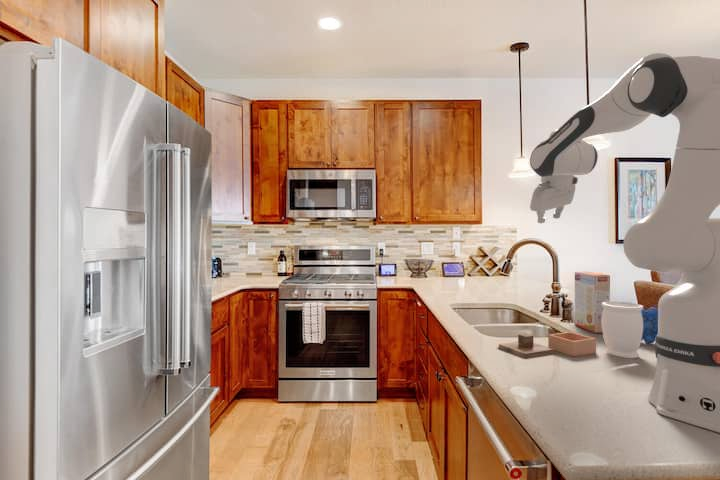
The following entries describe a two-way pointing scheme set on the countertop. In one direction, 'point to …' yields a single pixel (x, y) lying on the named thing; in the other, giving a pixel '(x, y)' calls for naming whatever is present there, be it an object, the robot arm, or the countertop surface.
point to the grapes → (650, 324)
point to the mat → (526, 358)
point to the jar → (622, 328)
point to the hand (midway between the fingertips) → (548, 220)
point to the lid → (526, 347)
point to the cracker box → (590, 299)
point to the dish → (572, 344)
